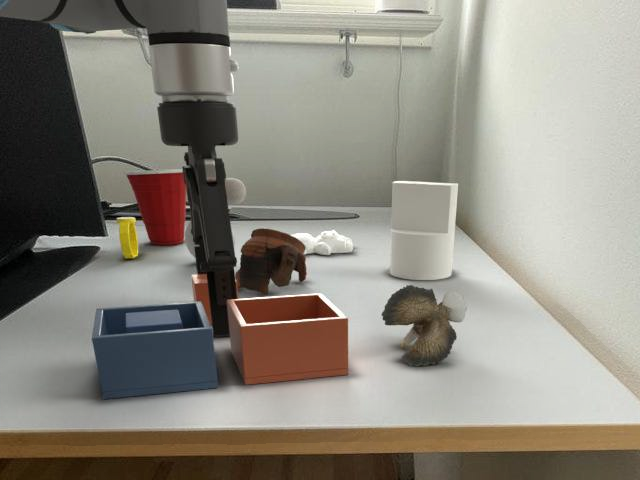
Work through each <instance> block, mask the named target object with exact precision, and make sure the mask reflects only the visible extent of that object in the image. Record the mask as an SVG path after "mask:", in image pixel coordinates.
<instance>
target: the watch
mask: <svg viewBox="0 0 640 480" xmlns="http://www.w3.org/2000/svg"><path fill="white" fill-rule="evenodd" d="M136 222H137V220H136V217H135V216H121V217H116V223H117V224H119V225H118V226H119V227H118V231H119V233H118V234H119V242H120V248H121V252H122V255H123V257H124V258H125V259H135V258H137V257H138V256H139V241H138V231H137V228H136V225H135V223H136Z"/></svg>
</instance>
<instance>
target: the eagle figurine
mask: <svg viewBox="0 0 640 480" xmlns="http://www.w3.org/2000/svg"><path fill="white" fill-rule="evenodd" d="M383 308H384V309H383V311H382V312H381V317H382V321H384V325H385V326H409V325H412V327H411V328H410V329H409V331H408V332H407V333H406V335H405V336H404V337H403V340H402V341H403V342H402V344H401V346H400V347H401V348H404V347H406V346H408V345H410V344H412V343H413V342H414V343H413V344H412V345H411V346H410V348H408V349H407V350H406V352H404V354H403V355H401V359H402V360H403V361H404V363H408V365H409V366H410V367H411V366H412V367H413V366H414V367H420V366H423V367H424V366H428V365H429V364H431V365H436V363H442V362H443V361H444V360H445V359H446V358H448V357H449V355H450V354H451V350H452V349H453V345H454V343H455V341H456V340H458V339H457V337H458V336H457V332H456V330H455V329H454V328H453V326H452V325H451V322H453V323H459V324H460V323H462V322H464V320H465V318H466V313H467V310H468V307H467V301H466V300H465V299H464V296H462V295H460V294H459V293H457V292H455V291H448V292H447V293H445V295H444V297H443V299H442V301H440V302H439V303H438V302H437V298H436V294H435V292H434V290H433V288H424V287H419V286H415V285H413V284H409V285H408V284H407V285H406V286H403V287H402V288H399V289H398V290H396V291H395V292H394V293H392V294H391V296H390V297H389V298H388V299H387V303H386V304H385V305H384V307H383Z"/></svg>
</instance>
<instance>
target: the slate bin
mask: <svg viewBox="0 0 640 480" xmlns="http://www.w3.org/2000/svg"><path fill="white" fill-rule="evenodd" d="M163 310H179V314H180V317H181V321H182V326H183V329H178V330H165V331H153V332H140V333H126V318H125V314H126V313H135V312H149V311H163ZM91 341H92V347H93V351H94V357H95V362H96V367H97V372H98V377H99V384H100V388H101V392H102V398H103V400H110V399H111V400H112V399H121V398H122V399H123V398H130V397H140V396H149V395H150V396H152V395H160V394H161V395H162V394H170V393H171V394H172V393H179V392H189V391H200V390H209V389H218V388H219V381H218V372H217V364H216V363H217V362H216V354H215V353H216V352H215V345H214V335H213V329H212V324H210V323H209V320H208V318H207V315H206V312H205V310H204V307H203V305H202V302H201V301H200V302H194V301H188V302H173V303H171V302H169V303H157V304H141V305H128V306H127V305H125V306H112V307H99V308H97V307H96V309H95V315H94V322H93V330H92V335H91Z"/></svg>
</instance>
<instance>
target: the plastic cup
mask: <svg viewBox="0 0 640 480" xmlns="http://www.w3.org/2000/svg"><path fill="white" fill-rule="evenodd" d="M123 174H124V176H126V178H127V180H128V182H129V184H130V187H131V189H132V191H133V194H134V197H135V200H136V204H137V206H138V209H139V213H140V216H141V219H142V220H141V221H142V223H143V224H144V228H145V231H146V234H147V237H148V240H149V242H150V244H151V245H155V246H174V245H179V244H182V243H184V241H185V231H186V227H185V224H186V215H187V213H186V211H187V192H186V184H185V182H184V177H183V169H182V168H176V169H173V168H172V169H156V170H135V171H124V172H123Z"/></svg>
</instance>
